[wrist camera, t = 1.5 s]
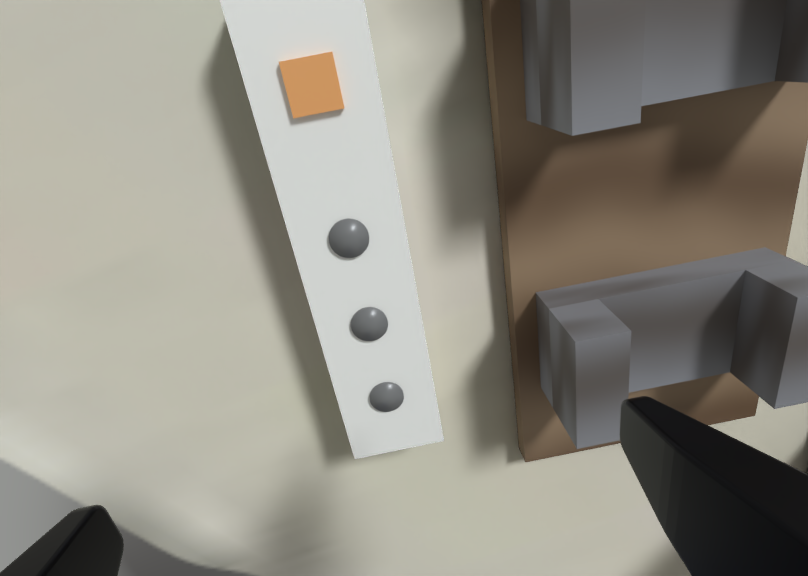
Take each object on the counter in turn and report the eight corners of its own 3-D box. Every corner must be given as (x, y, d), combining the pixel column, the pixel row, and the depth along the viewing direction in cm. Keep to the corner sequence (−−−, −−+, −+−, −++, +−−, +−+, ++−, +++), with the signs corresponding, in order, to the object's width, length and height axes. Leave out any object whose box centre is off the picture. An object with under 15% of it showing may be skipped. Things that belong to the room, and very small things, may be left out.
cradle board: (741, 403, 26) (823, 475, 21) (519, 448, 26) (555, 531, 21) (858, -283, 15) (1087, -437, 10) (463, -214, 14) (516, -340, 10)
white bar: (433, 397, 24) (445, 444, 21) (354, 414, 24) (354, 463, 21) (355, -26, 16) (356, -45, 13) (237, -4, 16) (212, -18, 13)
